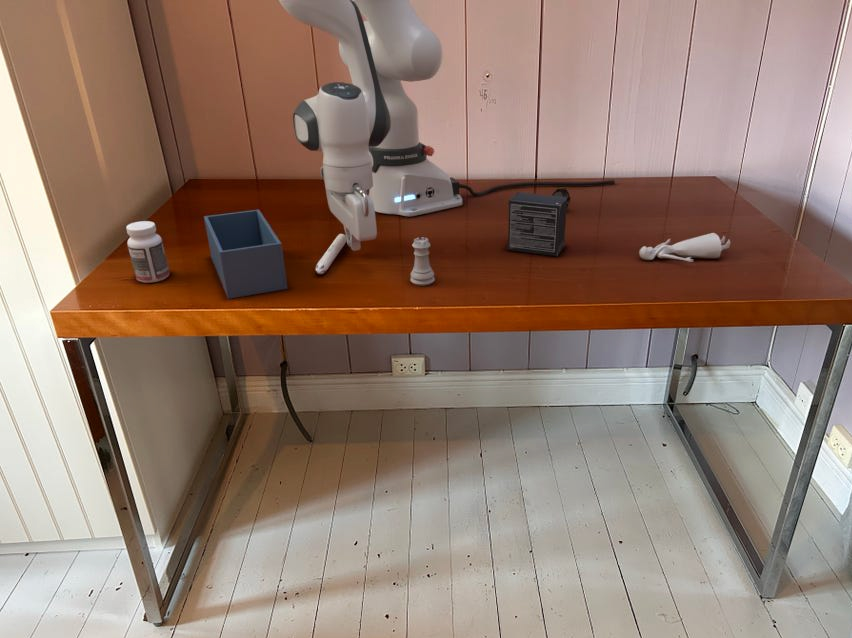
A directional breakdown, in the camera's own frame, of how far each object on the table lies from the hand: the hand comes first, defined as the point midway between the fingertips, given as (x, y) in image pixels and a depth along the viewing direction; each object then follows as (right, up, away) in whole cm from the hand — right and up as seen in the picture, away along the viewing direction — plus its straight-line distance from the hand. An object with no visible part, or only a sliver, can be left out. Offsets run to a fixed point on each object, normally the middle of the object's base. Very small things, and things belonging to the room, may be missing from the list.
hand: (354, 248), depth 140 cm
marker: (-4, -3, -1) cm, 5 cm away
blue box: (-18, -6, -7) cm, 21 cm away
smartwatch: (+43, +13, +27) cm, 52 cm away
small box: (+36, +1, +5) cm, 36 cm away
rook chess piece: (+14, -8, -9) cm, 19 cm away
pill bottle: (-35, -7, -9) cm, 37 cm away
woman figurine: (+64, -2, +2) cm, 64 cm away
